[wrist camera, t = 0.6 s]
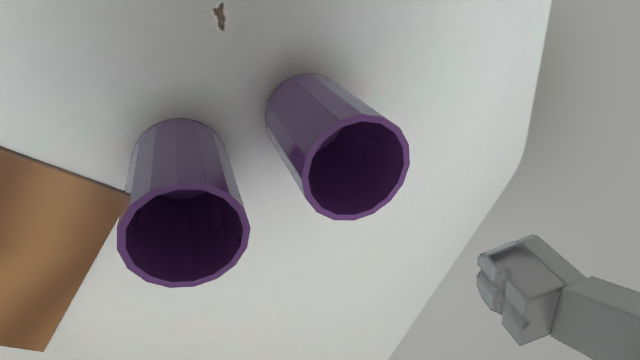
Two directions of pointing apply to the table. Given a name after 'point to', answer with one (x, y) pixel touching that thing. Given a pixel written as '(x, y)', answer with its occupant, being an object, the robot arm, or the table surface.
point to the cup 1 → (181, 207)
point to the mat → (46, 244)
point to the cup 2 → (336, 147)
